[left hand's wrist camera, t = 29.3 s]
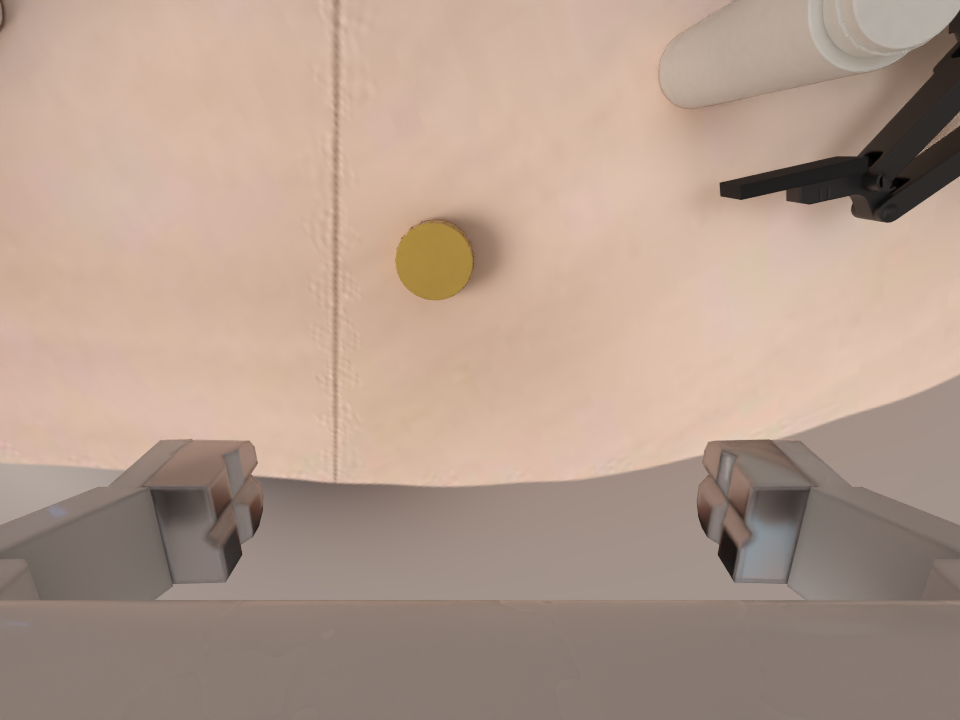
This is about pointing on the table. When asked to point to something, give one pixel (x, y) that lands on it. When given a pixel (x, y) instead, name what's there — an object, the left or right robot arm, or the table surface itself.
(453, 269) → the lid
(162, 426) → the table surface
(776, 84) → the grey cylinder
